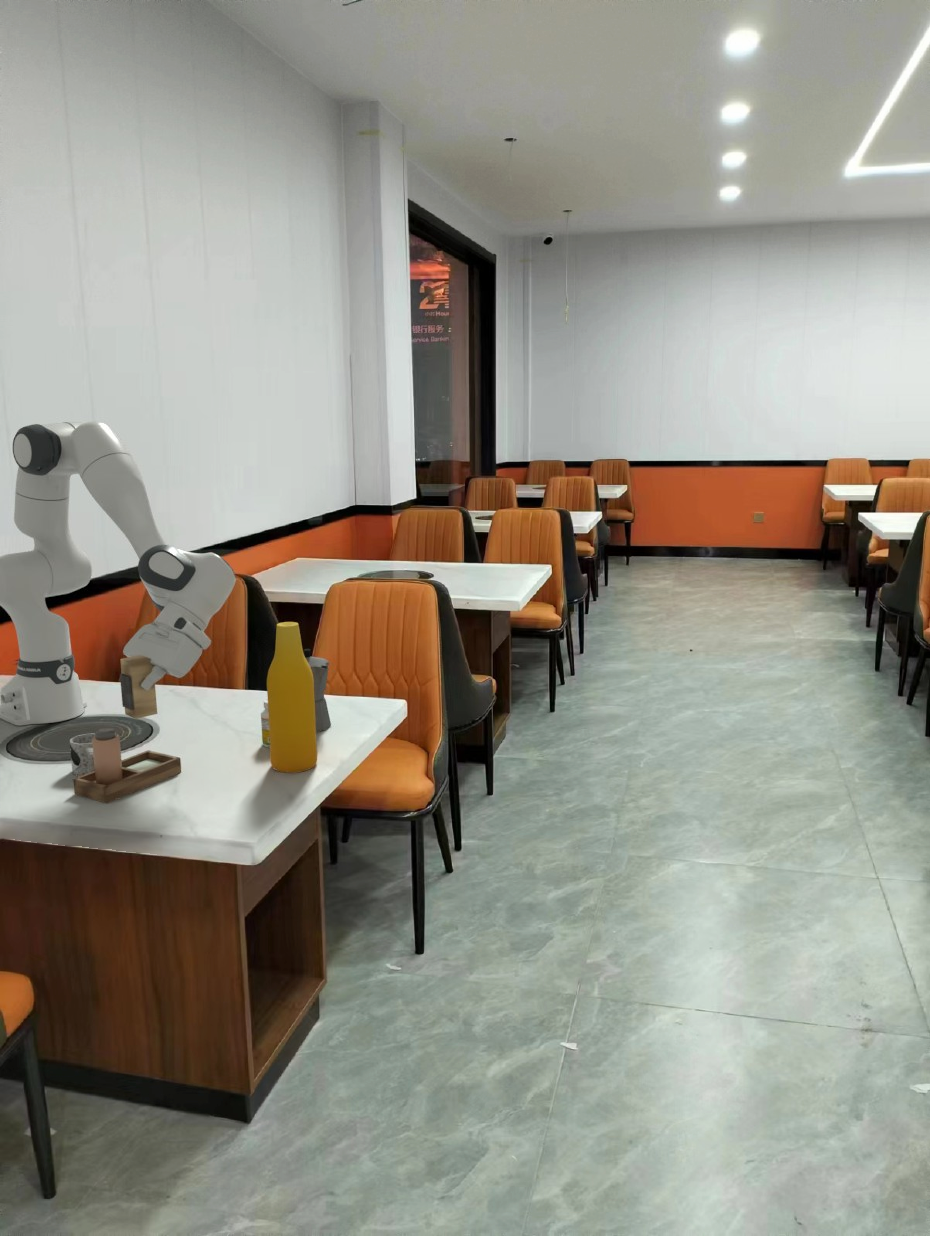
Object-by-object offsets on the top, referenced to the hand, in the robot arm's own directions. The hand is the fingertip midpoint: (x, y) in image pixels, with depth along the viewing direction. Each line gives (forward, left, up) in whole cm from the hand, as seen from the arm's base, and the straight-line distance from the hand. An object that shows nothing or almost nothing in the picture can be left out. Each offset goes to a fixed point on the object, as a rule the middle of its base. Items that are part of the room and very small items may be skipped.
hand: (135, 685), depth 190 cm
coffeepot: (+8, +41, -19) cm, 45 cm away
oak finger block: (0, +1, -6) cm, 6 cm away
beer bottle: (+22, +20, -19) cm, 35 cm away
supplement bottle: (+10, +28, -19) cm, 35 cm away
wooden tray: (0, -3, -19) cm, 19 cm away
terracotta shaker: (0, -8, -17) cm, 19 cm away
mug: (-11, -4, -19) cm, 22 cm away
